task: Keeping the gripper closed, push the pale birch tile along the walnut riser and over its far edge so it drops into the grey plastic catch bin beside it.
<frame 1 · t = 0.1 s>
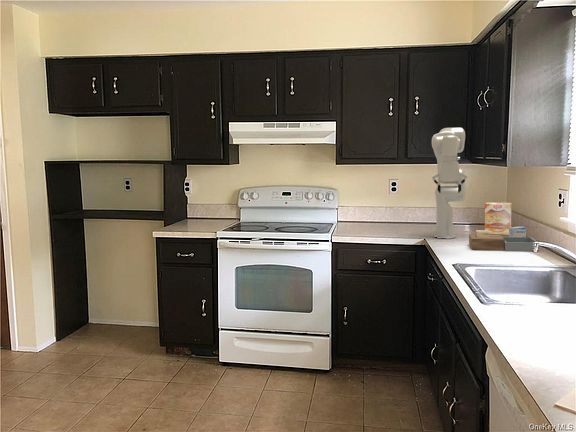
hand: (449, 192, 258), 31 cm above the table, tool pointing down, fingers open, 9 cm apart
catch bin: (518, 248, 264), on the table
birch tile: (482, 236, 268), point 6 cm above the table, touching walnut riser
medicine box: (517, 242, 282), on the table
coffeecake box: (497, 233, 313), on the table
walnut riser: (486, 247, 268), on the table
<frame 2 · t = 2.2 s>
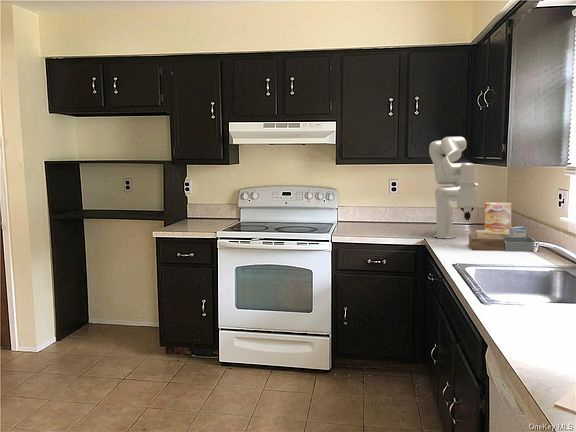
hand: (467, 219, 268), 15 cm above the table, tool pointing down, fingers closed
nothing on the table moved.
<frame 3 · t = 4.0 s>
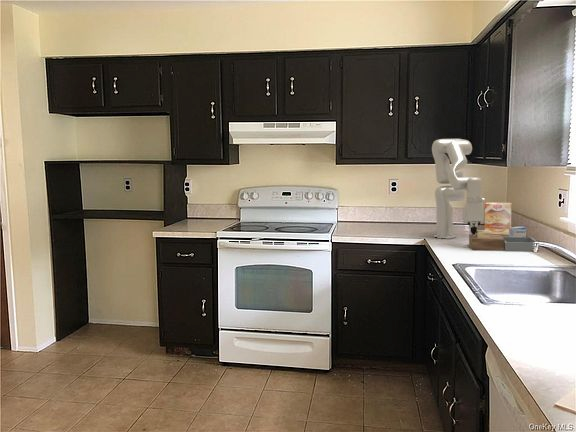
hand: (473, 234, 269), 7 cm above the table, tool pointing down, fingers closed
birch tile: (482, 236, 268), point 6 cm above the table, touching gripper, walnut riser
everything else where it was.
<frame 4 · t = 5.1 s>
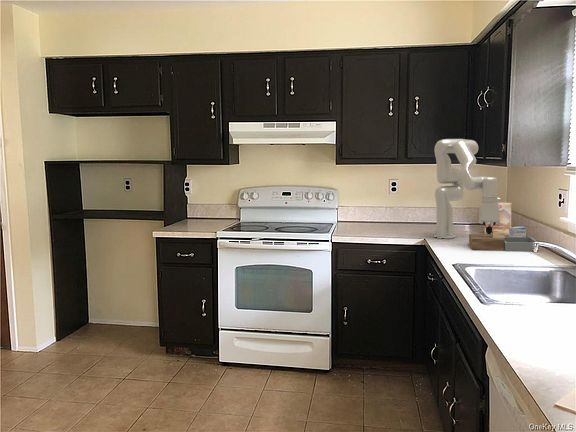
hand: (488, 234, 267), 7 cm above the table, tool pointing down, fingers closed
birch tile: (498, 236, 266), point 6 cm above the table, touching gripper
everything else where it was.
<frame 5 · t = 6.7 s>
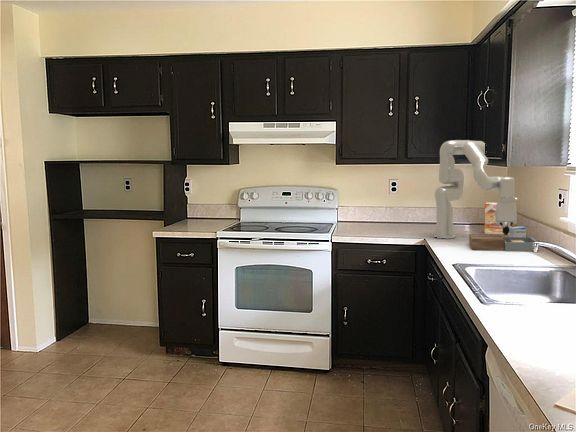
hand: (505, 234, 265), 7 cm above the table, tool pointing down, fingers closed
birch tile: (516, 240, 263), point 4 cm above the table, tilted 180°, touching catch bin
everything else where it was.
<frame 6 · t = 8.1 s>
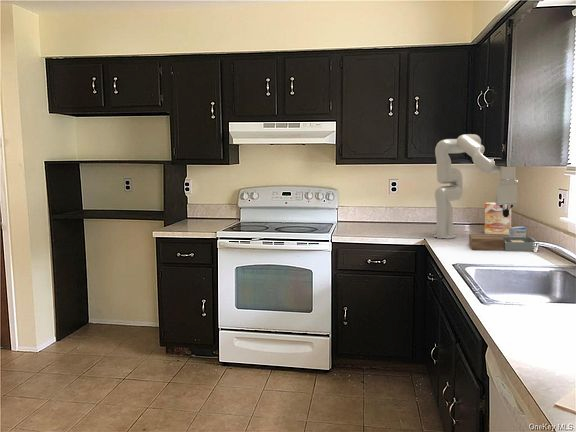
hand: (505, 216, 264), 17 cm above the table, tool pointing down, fingers closed
nothing on the table moved.
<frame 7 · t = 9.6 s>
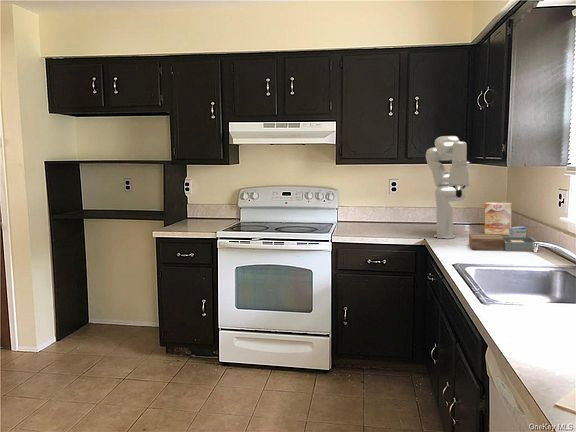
hand: (458, 197, 275), 27 cm above the table, tool pointing down, fingers closed
nothing on the table moved.
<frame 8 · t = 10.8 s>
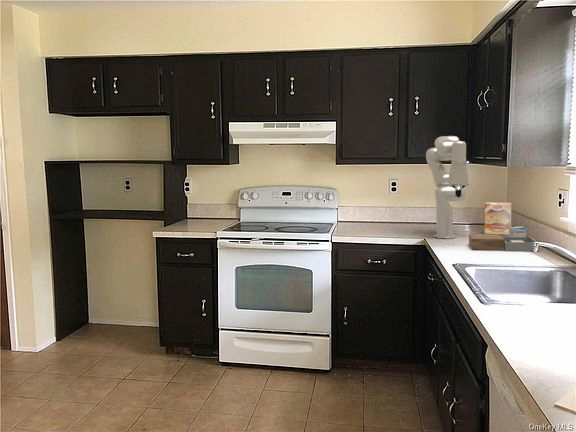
hand: (458, 197, 275), 27 cm above the table, tool pointing down, fingers closed
nothing on the table moved.
at the end: birch tile inside the target area on the catch bin (1.3 cm from its centre), point 4.0 cm above the catch bin's base; birch tile touching catch bin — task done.
